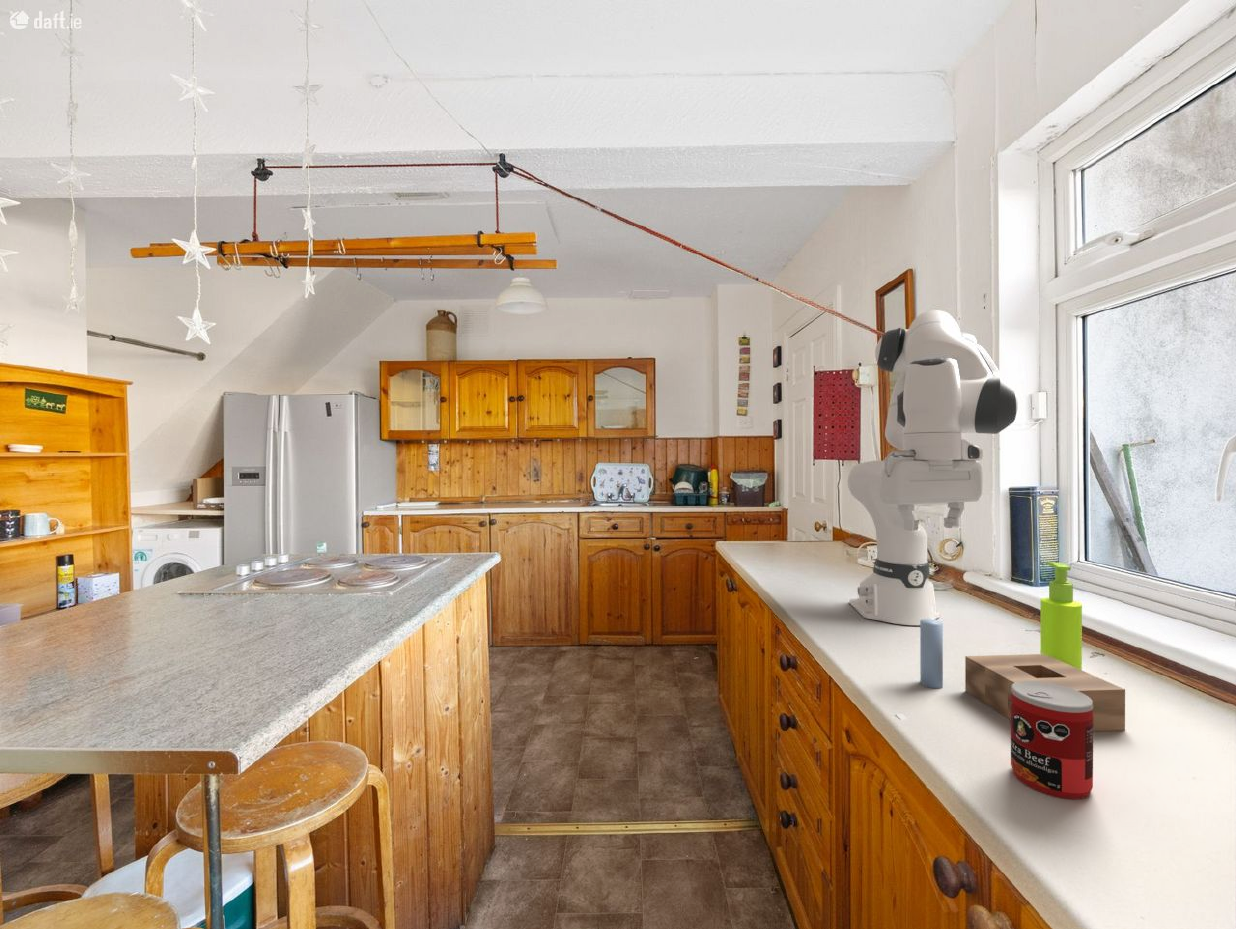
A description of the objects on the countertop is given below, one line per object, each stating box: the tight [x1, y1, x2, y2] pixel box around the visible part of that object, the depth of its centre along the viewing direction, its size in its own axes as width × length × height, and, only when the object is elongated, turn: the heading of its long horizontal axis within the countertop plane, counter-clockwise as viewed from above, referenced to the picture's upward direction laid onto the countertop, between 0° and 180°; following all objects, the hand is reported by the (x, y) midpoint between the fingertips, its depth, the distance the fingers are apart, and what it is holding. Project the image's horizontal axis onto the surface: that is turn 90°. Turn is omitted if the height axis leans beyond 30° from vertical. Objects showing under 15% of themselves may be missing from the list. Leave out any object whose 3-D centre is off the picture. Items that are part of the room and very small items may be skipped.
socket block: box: [964, 653, 1126, 732], centre depth 85 cm, size 14×14×6 cm
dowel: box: [919, 619, 944, 690], centre depth 94 cm, size 3×3×11 cm
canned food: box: [1010, 681, 1094, 800], centre depth 66 cm, size 8×8×11 cm
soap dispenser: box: [1039, 561, 1083, 671], centre depth 99 cm, size 6×7×20 cm
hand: (931, 529), depth 94 cm, fingers open, 8 cm apart
